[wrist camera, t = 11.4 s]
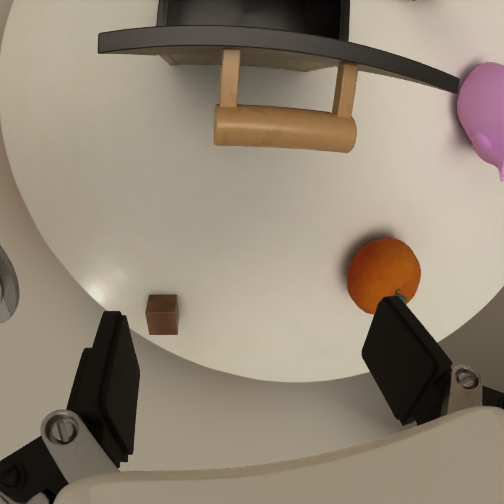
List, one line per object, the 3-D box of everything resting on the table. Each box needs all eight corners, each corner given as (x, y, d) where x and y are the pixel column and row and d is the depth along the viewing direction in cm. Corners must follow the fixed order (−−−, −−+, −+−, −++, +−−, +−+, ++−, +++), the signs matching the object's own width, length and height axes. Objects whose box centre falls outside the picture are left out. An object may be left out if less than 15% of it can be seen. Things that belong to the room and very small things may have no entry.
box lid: (98, 33, 8) (102, 163, 11) (460, 78, 10) (438, 177, 13) (153, 45, 18) (152, 109, 21) (350, 59, 20) (342, 118, 23)
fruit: (344, 229, 40) (372, 259, 33) (407, 228, 41) (439, 254, 34) (332, 296, 45) (353, 332, 38) (391, 290, 46) (416, 321, 39)
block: (152, 316, 42) (149, 334, 39) (148, 294, 40) (145, 312, 37) (178, 316, 43) (177, 334, 39) (176, 294, 41) (175, 312, 38)
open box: (177, -27, 22) (169, -70, 13) (310, -17, 25) (350, -50, 15) (169, 65, 28) (154, 51, 18) (305, 71, 30) (347, 64, 21)
